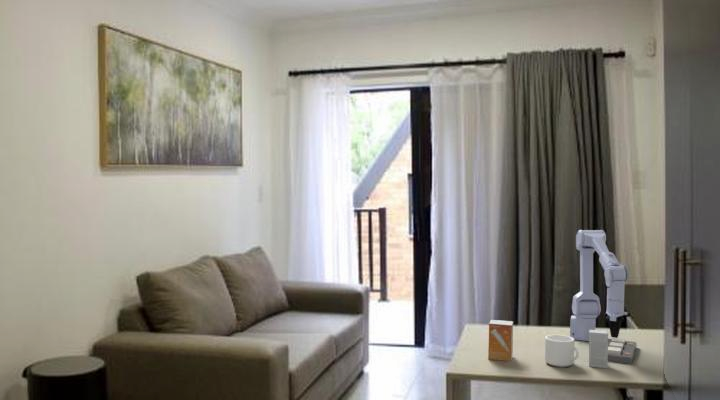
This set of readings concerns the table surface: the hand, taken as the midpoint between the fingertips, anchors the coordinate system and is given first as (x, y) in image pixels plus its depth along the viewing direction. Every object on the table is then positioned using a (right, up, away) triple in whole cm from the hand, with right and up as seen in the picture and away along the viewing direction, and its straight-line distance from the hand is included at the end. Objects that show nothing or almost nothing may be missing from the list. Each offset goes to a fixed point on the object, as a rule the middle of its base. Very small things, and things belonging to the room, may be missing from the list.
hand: (614, 337), depth 228 cm
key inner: (+6, -7, +13) cm, 16 cm away
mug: (-21, -8, -7) cm, 23 cm away
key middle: (+3, -7, +7) cm, 10 cm away
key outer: (0, -7, 0) cm, 7 cm away
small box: (-41, -8, 0) cm, 41 cm away
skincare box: (-9, -8, -8) cm, 15 cm away
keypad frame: (+3, -7, +7) cm, 10 cm away
